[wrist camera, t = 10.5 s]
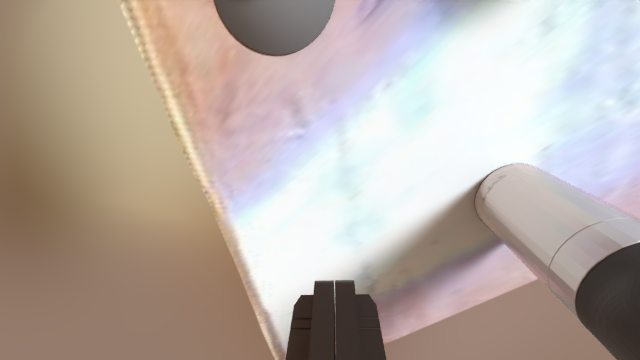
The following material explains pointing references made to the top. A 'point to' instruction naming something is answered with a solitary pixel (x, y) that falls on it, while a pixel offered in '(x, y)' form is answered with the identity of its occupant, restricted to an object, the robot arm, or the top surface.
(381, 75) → the top surface
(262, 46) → the disc
